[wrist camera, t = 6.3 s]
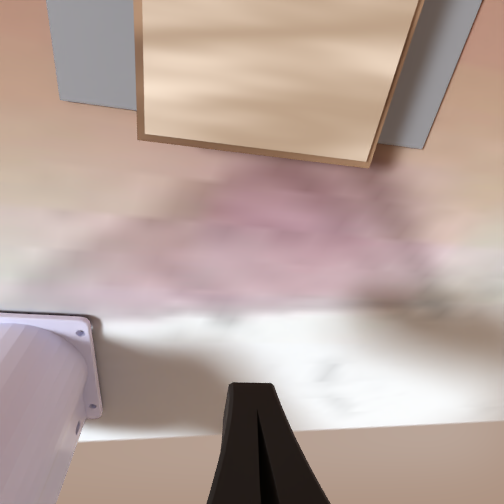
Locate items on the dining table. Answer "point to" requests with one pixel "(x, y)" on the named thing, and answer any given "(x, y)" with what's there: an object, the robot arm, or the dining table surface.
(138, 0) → the walnut slab
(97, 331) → the dining table surface
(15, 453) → the robot arm
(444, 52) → the mat
